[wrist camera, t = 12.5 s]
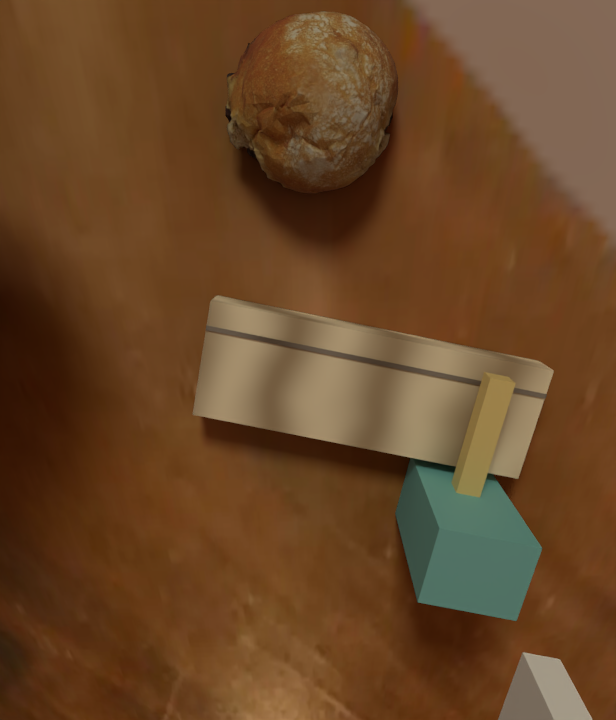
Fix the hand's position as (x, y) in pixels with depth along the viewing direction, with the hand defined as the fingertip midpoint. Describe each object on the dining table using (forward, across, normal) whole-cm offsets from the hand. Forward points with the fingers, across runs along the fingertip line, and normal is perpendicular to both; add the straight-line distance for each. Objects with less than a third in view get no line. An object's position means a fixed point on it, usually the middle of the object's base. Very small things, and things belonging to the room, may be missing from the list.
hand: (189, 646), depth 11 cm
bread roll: (+29, -1, +15) cm, 33 cm away
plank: (+29, +6, -2) cm, 29 cm away
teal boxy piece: (+29, +14, -5) cm, 32 cm away
